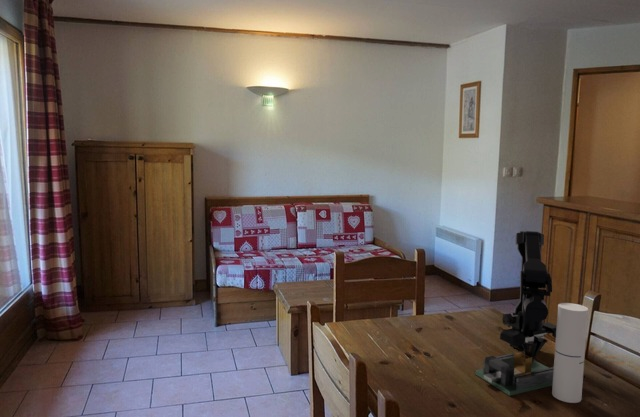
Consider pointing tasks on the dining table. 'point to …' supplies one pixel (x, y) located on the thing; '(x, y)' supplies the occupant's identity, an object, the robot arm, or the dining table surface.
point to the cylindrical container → (569, 352)
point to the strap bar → (520, 367)
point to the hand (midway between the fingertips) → (529, 361)
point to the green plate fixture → (517, 383)
